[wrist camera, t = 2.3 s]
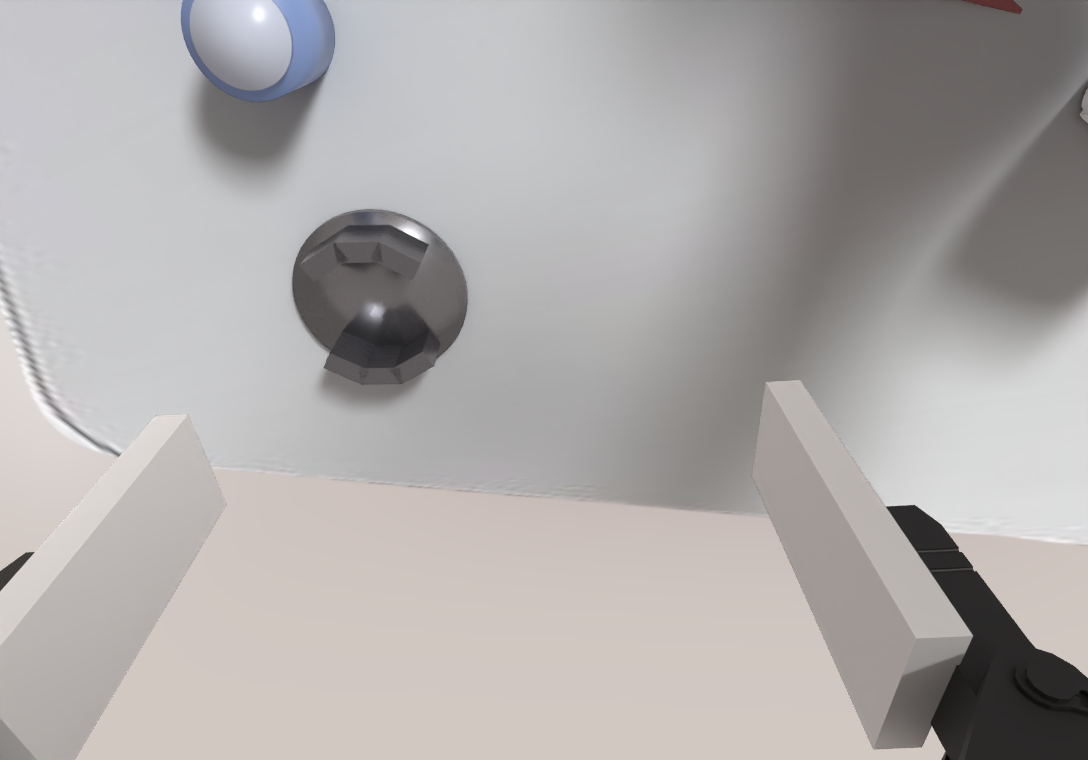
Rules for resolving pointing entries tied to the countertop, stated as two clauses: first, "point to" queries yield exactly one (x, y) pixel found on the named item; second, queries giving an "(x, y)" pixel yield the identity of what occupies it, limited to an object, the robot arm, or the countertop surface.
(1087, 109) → the photo printer
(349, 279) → the disc
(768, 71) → the countertop surface
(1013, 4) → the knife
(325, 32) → the blue dome-topped cylinder
